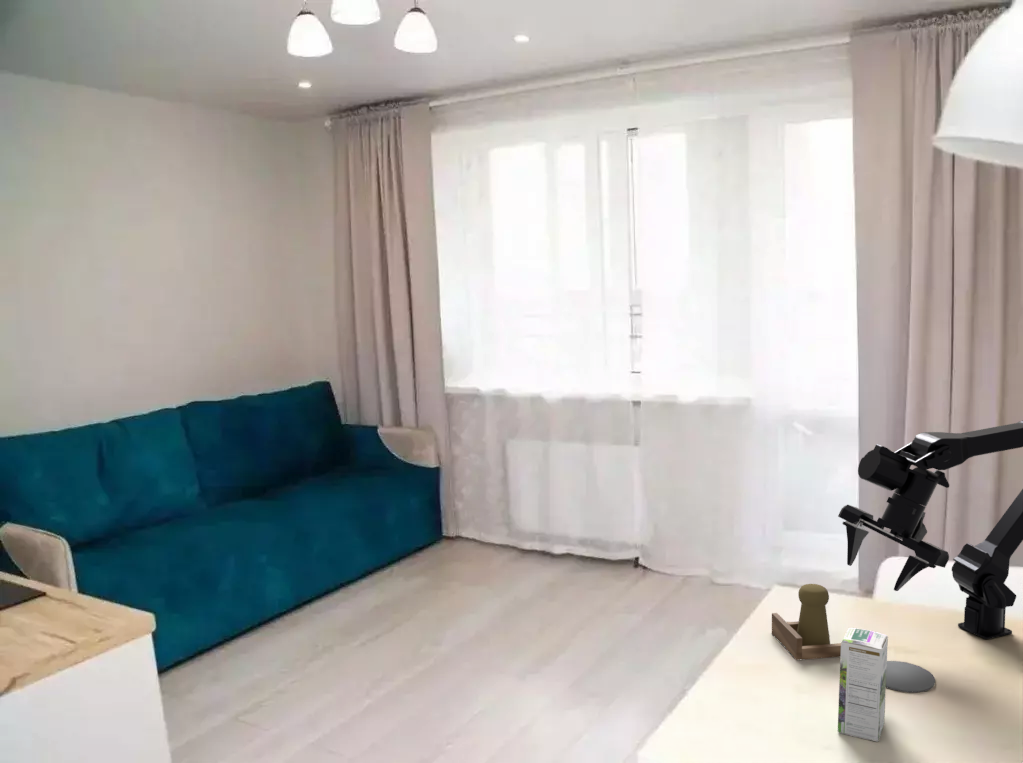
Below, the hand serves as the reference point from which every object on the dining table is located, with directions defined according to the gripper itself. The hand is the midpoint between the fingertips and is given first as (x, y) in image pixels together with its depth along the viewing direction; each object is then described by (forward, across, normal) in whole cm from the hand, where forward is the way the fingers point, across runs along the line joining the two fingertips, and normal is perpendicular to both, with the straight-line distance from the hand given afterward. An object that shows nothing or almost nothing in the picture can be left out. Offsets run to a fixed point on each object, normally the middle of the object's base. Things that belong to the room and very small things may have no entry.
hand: (871, 577), depth 156 cm
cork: (+16, +3, +4) cm, 16 cm away
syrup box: (+18, -17, +24) cm, 34 cm away
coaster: (+12, -13, +6) cm, 19 cm away
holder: (+15, +3, +4) cm, 16 cm away
